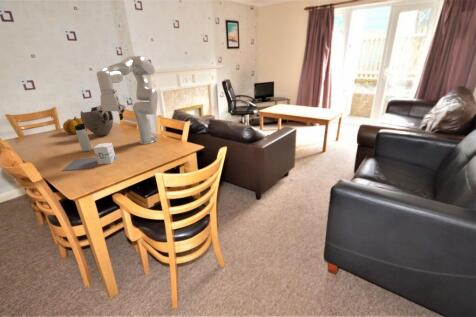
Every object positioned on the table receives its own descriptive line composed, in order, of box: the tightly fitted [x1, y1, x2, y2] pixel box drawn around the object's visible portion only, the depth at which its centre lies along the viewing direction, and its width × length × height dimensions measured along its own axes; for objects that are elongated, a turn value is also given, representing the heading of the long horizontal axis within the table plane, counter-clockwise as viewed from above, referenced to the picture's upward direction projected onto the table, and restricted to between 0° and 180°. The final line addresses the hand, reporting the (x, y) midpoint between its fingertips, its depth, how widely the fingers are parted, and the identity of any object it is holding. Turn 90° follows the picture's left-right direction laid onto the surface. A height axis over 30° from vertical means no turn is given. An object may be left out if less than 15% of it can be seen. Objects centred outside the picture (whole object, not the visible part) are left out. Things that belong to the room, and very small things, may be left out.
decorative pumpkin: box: [62, 116, 89, 135], centre depth 226 cm, size 20×22×15 cm
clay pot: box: [79, 106, 114, 137], centre depth 211 cm, size 24×24×25 cm
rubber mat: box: [61, 156, 98, 172], centre depth 156 cm, size 18×18×1 cm
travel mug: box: [75, 124, 93, 153], centre depth 176 cm, size 6×7×20 cm
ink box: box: [93, 142, 117, 165], centre depth 156 cm, size 8×8×12 cm
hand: (114, 120), depth 153 cm, fingers open, 9 cm apart
